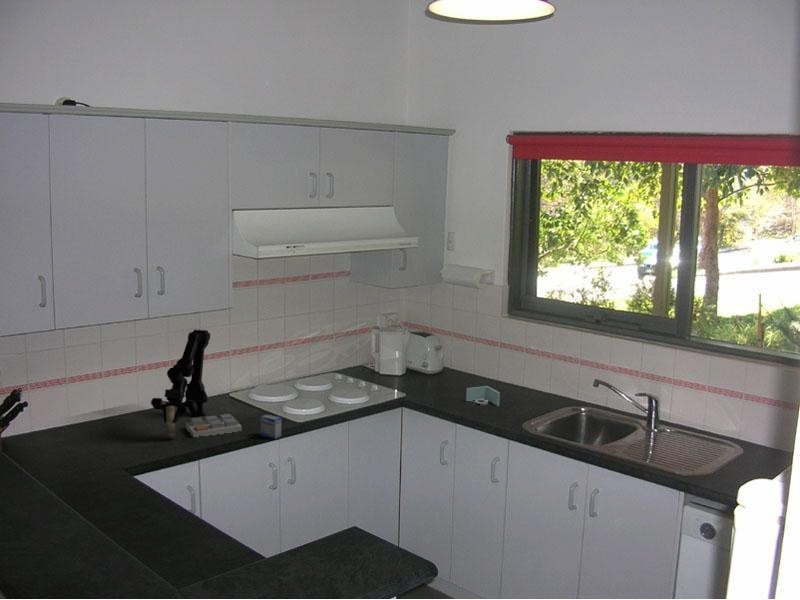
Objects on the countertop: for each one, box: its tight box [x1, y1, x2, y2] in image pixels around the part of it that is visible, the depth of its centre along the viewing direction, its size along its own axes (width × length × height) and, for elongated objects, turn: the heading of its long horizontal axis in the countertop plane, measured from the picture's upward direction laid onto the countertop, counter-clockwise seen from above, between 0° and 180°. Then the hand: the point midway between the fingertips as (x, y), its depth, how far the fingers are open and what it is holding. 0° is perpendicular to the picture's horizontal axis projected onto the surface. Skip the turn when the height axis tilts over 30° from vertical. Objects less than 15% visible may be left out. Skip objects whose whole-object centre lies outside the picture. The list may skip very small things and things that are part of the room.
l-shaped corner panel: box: [465, 385, 501, 407], centre depth 411 cm, size 12×12×8 cm
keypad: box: [185, 413, 243, 438], centre depth 362 cm, size 13×21×5 cm, turn 118°
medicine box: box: [260, 414, 282, 440], centre depth 357 cm, size 8×4×9 cm, turn 62°
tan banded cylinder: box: [165, 406, 176, 439], centre depth 348 cm, size 4×4×13 cm
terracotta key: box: [194, 425, 207, 432], centre depth 356 cm, size 4×4×3 cm
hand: (169, 422), depth 347 cm, fingers closed on tan banded cylinder, 3 cm apart
